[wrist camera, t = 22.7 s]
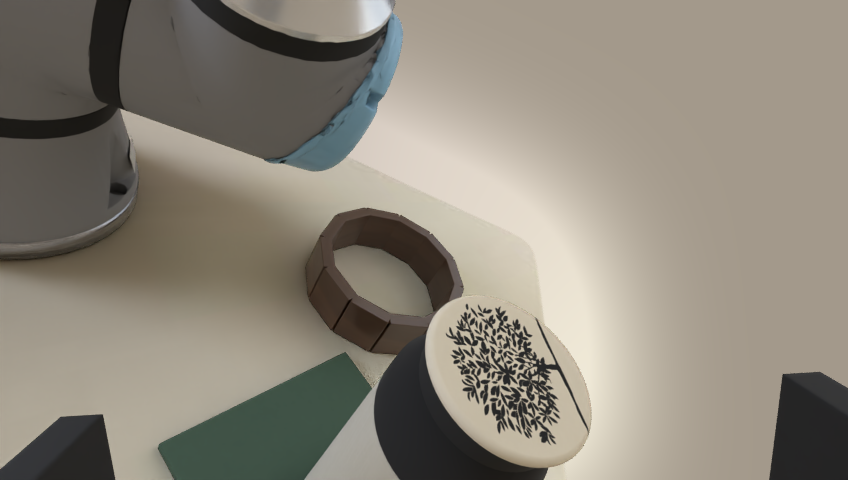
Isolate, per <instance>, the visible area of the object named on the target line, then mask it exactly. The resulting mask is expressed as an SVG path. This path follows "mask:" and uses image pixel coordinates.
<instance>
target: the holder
mask: <svg viewBox="0 0 848 480" xmlns="http://www.w3.org/2000/svg"><path fill="white" fill-rule="evenodd" d="M353 244H357V245H363V246H369V247H375V248H381V249H383V250H385V251H387V252H389V253H390V254H392V255H394V256H396V257H397V258H399V259H401V260H403V261H404V262H406V263H408V264H409V265H410V266H411V267H412V269H413V270H414V271H415V272H416V273H417V274H418V276H419V277H420V278H421V279H422V280H423V282H424V283H425V284H426V285H427V287H428V290H429V294H430V297H431V301H432V305H433V308H434V312H433V313H431V314H429V315H427V316H425V317H418V316H409V315H400V314H391V313H388V312H387V311H385V310H383V309H381V308H379V307H378V306H376V305H374V304H372V303H371V302H369V301H367V300H365V299H364V298H362V297H360V296H358V295H357V294H356V292H355V291H354V290H353V289H352V287H351V286H350V285H349V283H348V282H347V281H346V280H345V278H344V277H343V276H342V274H341V273H340V272H339V271H338V269H337V268H336V267H335V262H334V254H333V250H336V249H340V248H343V247H346V246H350V245H353ZM306 277H307V289H308V297H309V300H310V302H311V303H312V305H313V306H314V307H315V309H316V310H317V311H318V313H319V314H320V315H321V317H322V318H323V320H324V321H325V322H326V324H327V325H328V326H329V328H330V329H331V330H332V329H334V332H335V333H337V334H339V335H340V336H342V337H344V338H346V339H347V340H349V341H351V342H353V343H355V344H356V345H358V346H360V347H362V348H364V349H365V350H367V351H370V349H371V352H373V353H388V354H399V352H400V351H401V350H402V349H403V348H404V347H405V346H406V345H407V344H408V343H409V342H410V341H412V340H413V339H415V338H417V337H419V336H421V335H424V334H427V331H428V328H429V325H430V323H431V321H432V319H433V317H434V316H435V314H436V313H437V312H438V311H439V309H440V308H442V307H443V306H444V305H445V304H447V303H448V302H450V301H452V300H454V299H457V298H460V297H461V296H462V293H463V290H464V288H463V287H464V286H463V283H462V280H461V277H460V274H459V271H458V268H457V265H456V262H455V260H454V259H453V257H452V256H451V254H450V253H449V252H448V251H447V250H446V249H445V248H444V247H443V245H442V244H441V243H440V242H439V241H438V240H437V239H436V238H435V236H434V235H433V234H430V232H429V231H427V230H426V229H424V228H422V227H421V226H419V225H417V224H415V223H414V222H412V221H410V220H409V219H407V218H405V217H403V216H402V215H400V216H399V215H398V214H395V213H390V212H385V211H381V210H376V209H371V208H367V209H366V208H361V209H356V210H352V211H348V212H344V213H339V214H337V215H335V217H334V218H333V219H332V221H331V222H330V223H329V224H328V226H327V227H326V228H325V230H324V231H323V232H322V234H321V235H320V237H319V239H318V241H317V243H316V246H315V248H314V250H313V252H312V254H311V256H310V258H309V261H308V263H307V265H306Z"/></svg>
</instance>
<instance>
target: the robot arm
mask: <svg viewBox="0 0 848 480" xmlns="http://www.w3.org/2000/svg"><path fill="white" fill-rule="evenodd" d="M394 6H395V0H0V259H32V258H41V257H48V256H53V255H59V254H63V253H67V252H71V251H74V250H77V249H80V248H83V247H86V246H88V245H91V244H93V243H95V242H97V241H99V240H101V239H103V238H104V237H106V236H108V235H109V234H111V233H112V232H114V231H115V230H116V229H117V228H119V227H120V226H121V225H122V224H123V223H124V222H125V220H126V219H127V218H128V217H129V215H130V213H131V212H132V210H133V208H134V205H135V202H136V198H137V191H138V184H139V172H138V166H137V162H136V150H135V147H134V144H133V141H132V137H131V143H130V140H129V136H128V133H127V130H126V127H125V124H124V121H123V118H122V115H121V111H120V109H123V110H126V111H129V112H132V113H135V114H137V115H140V116H143V117H146V118H149V119H151V120H154V121H157V122H160V123H163V124H166V125H168V126H171V127H174V128H177V129H180V130H183V131H185V132H188V133H191V134H194V135H197V136H199V137H202V138H205V139H208V140H211V141H214V142H216V143H219V144H222V145H225V146H228V147H231V148H233V149H236V150H239V151H242V152H245V153H247V154H250V155H253V156H256V157H259V158H262V159H264V160H265V161H267V162H269V163H274V164H279V163H283V164H287V165H290V166H294V167H297V168H301V169H305V170H309V171H323V170H327V169H329V168H332V167H334V166H335V165H337V164H338V163H340V162H341V161H342V160H343V159H344V158H345V157H346V156H347V155H348V154H349V153H350V152H351V151H352V150H353V148H354V147H355V146H356V144H357V143H358V142H359V141H360V139H361V138H362V136H363V135H364V133H365V132H366V130H367V129H368V127H369V125H370V124H371V122H372V120H373V118H374V116H375V114H376V112H377V106H378V102H379V101H380V100H381V99H382V97H383V96H384V95H385V93H386V91H387V89H388V87H389V85H390V82H391V80H392V78H393V75H394V72H395V69H396V66H397V63H398V60H399V56H400V51H401V46H402V39H403V29H402V25H401V22H400V20H399V18H398V17H397V16H396V15H394V14H393V12H392V11H393V8H394ZM0 480H115V476H114V470H113V465H112V460H111V455H110V449H109V444H108V439H107V434H106V428H105V423H104V418H103V414H101V415H84V416H67V417H60V418H59V419H58V420H57V421H55V422H54V423H53V424H52V425H51V426H50V427H49V428H47V429H46V430H45V431H44V432H43V433H42V434H40V435H39V436H38V437H37V438H36V439H35V440H34V441H32V442H31V443H30V444H29V445H28V446H27V447H26V448H24V449H23V450H22V451H21V452H20V453H19V454H17V455H16V456H15V457H14V458H13V459H12V460H11V461H9V462H8V463H7V464H6V465H5V466H4V467H3V468H1V469H0ZM769 480H848V388H847V387H845V386H843V385H841V384H840V383H838V382H836V381H835V380H833V379H831V378H830V377H828V376H826V375H824V374H823V373H821V372H813V373H796V374H795V373H794V374H783V377H782V384H781V392H780V400H779V408H778V416H777V423H776V432H775V440H774V448H773V455H772V463H771V471H770V478H769Z"/></svg>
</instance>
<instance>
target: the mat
mask: <svg viewBox="0 0 848 480" xmlns="http://www.w3.org/2000/svg"><path fill="white" fill-rule="evenodd" d="M371 390H372V388H371V386H370V385H369V384H368V382H367V381H366V379H365V378H364V377H363V375H362V374H361V373H360V371H359V370H358V369H357V367H356V366H355V364H354V363H353V362H352V360H351V359H350V358H349V356H348V355H347V353H346V352H345V353H342V354H340V355H338V356H336V357H334V358H332V359H330V360H328V361H326V362H324V363H322V364H320V365H318V366H316V367H314V368H312V369H310V370H308V371H306V372H304V373H302V374H300V375H298V376H296V377H294V378H292V379H290V380H288V381H286V382H284V383H282V384H280V385H278V386H276V387H274V388H272V389H270V390H268V391H265V392H263V393H261V394H259V395H257V396H255V397H253V398H251V399H249V400H247V401H245V402H243V403H241V404H239V405H237V406H235V407H233V408H231V409H229V410H227V411H225V412H223V413H221V414H219V415H217V416H215V417H213V418H211V419H209V420H207V421H205V422H203V423H201V424H199V425H197V426H195V427H193V428H191V429H188V430H186V431H184V432H182V433H180V434H178V435H176V436H174V437H172V438H170V439H168V440H166V441H164V442H162V443H160V444H159V447H158V449H159V451H160V453H161V455H162V457H163V459H164V461H165V463H166V465H167V466H168V468H169V470H170V472H171V474H172V476H173V478H174V480H304V479H305V478H306V477H307V475H308V474H309V473H310V471H311V470H312V469H313V467H314V466H315V465H316V463H317V462H318V461H319V459H320V458H321V457H322V455H323V454H324V453H325V451H326V450H327V449H328V447H329V446H330V444H331V443H332V442H333V440H334V439H335V438H336V436H337V435H338V434H339V432H340V431H341V430H342V428H343V427H344V426H345V424H346V423H347V422H348V420H349V419H350V418H351V416H352V415H353V414H354V412H355V411H356V410H357V408H358V407H359V406H360V404H361V403H362V402H363V400H364V399H365V398H366V396H367V395H368V394H369V392H370V391H371Z"/></svg>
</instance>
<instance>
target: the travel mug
mask: <svg viewBox="0 0 848 480" xmlns="http://www.w3.org/2000/svg"><path fill="white" fill-rule="evenodd" d="M590 426H591V403H590V398H589V393H588V390H587V386H586V384H585V381H584V378H583V376H582V374H581V372H580V370H579V368H578V366H577V364H576V363H575V361H574V359H573V358H572V356H571V355H570V353H569V352H568V350H567V349H566V348H565V346H564V345H563V344H562V343H561V341H560V340H559V339H558V338H557V337H556V336H555V335H554V333H553V332H552V331H551V330H549V329H548V328H547V327H546V326H545V325H544V324H543V323H542V322H540V321H539V320H538V319H537V318H535V317H534V316H532V315H531V314H529V313H528V312H526V311H525V310H523V309H521V308H519V307H518V306H516V305H514V304H511V303H509V302H507V301H504V300H501V299H498V298H494V297H489V296H481V295H471V296H464V297H460V298H457V299H454V300H452V301H450V302H448V303H447V304H445V305H444V306H443V307H442V308H440V309H439V311H438V312H437V313H436V314H435V316H434V317H433V319H432V321H431V323H430V325H429V328H428V331H427V334H424V335H421V336H419V337H417V338H415V339H413V340H412V341H410V342H409V343H408V344H407V345H406V346H405V347H404V348H403V349H402V350H401V351H400V352H399V354H398V355H397V356H396V358H395V359H394V360H393V362H392V363H391V364H390V366H389V367H388V368H387V370H386V371H385V372H384V374H383V375H382V376H381V378H380V379H379V380H378V382H377V383H376V384H375V386H374V387H373V388H372V390H371V391H370V392H369V394H368V395H367V396H366V398H365V399H364V400H363V402H362V403H361V404H360V406H359V407H358V408H357V410H356V411H355V412H354V414H353V415H352V416H351V418H350V419H349V420H348V422H347V423H346V424H345V426H344V427H343V428H342V430H341V431H340V432H339V434H338V435H337V436H336V438H335V439H334V440H333V442H332V443H331V444H330V446H329V447H328V449H327V450H326V451H325V453H324V454H323V455H322V457H321V458H320V459H319V461H318V462H317V463H316V465H315V466H314V467H313V469H312V470H311V471H310V473H309V474H308V475H307V477H306V478H305V479H304V480H544V478H545V475H546V473H547V470H548V467H554V466H557V465H560V464H563V463H565V462H567V461H568V460H570V459H572V458H573V457H574V456H575V455H576V454H577V453H578V452H579V451H580V450H581V449H582V447H583V446H584V444H585V442H586V440H587V437H588V435H589V431H590Z"/></svg>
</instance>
